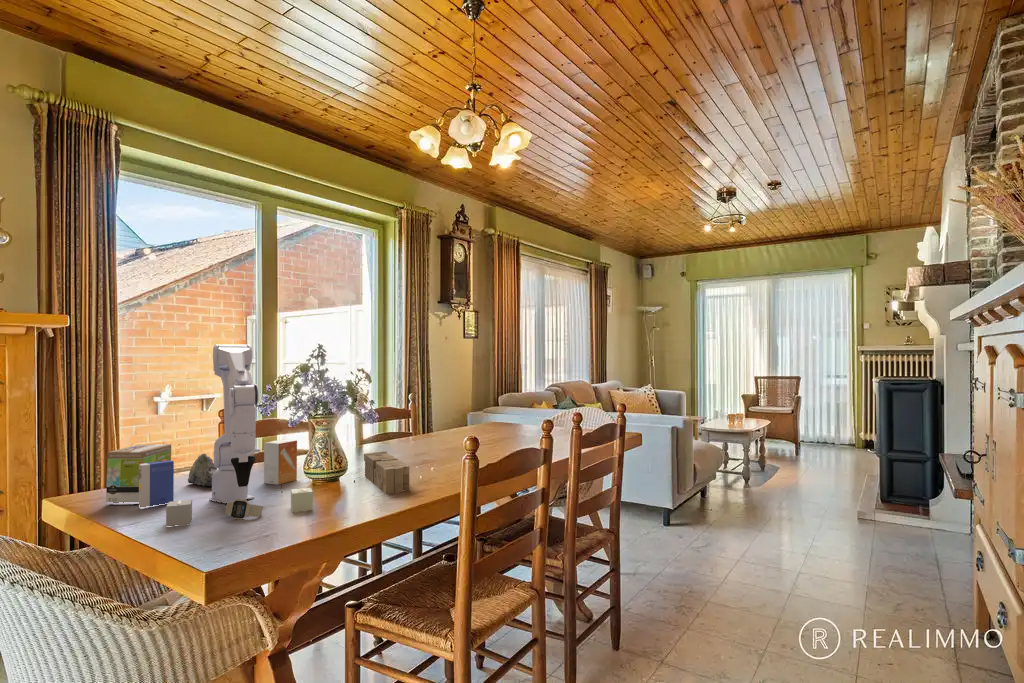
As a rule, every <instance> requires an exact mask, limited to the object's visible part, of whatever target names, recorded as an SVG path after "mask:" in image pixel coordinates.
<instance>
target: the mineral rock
mask: <svg viewBox="0 0 1024 683" xmlns="http://www.w3.org/2000/svg"><path fill="white" fill-rule="evenodd" d="M217 469H218V468H216V467H215V466H214V459H212V457H210V456H208V455H207V453H202V454H200V455H198V457H197V458H196V459H195V460H194V462H193V464H192V466H191V469H190V470H189V472H188V478H187V484H188V483H189V484H190V483H193V484H192V485H194V484H197V485H196V486H200V485H202V487H212V476H213V474H214V472H215V471H216V470H217ZM205 485H207V486H205ZM209 485H211V486H209Z"/></svg>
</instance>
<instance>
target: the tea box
mask: <svg viewBox="0 0 1024 683" xmlns="http://www.w3.org/2000/svg"><path fill="white" fill-rule="evenodd" d="M166 459H167V461H168V460H171V461H172V444H171V443H169V444H168V443H167V444H166V443H165V444H164V443H163V444H162V443H160V444H157V443H156V444H153V443H152V444H150V443H148V444H136V445H133V446H132V445H131V446H128V447H123V448H120V449H116V450H112V451H111V450H110V451H108V452H107V462H106V463H107V466H106V492H105V494H106V495H105V496H106V497H105V503H106V502H113V503H119V502H123V503H124V502H139V464H145V463H152V462H160V461H162V460H166Z"/></svg>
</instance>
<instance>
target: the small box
mask: <svg viewBox="0 0 1024 683" xmlns="http://www.w3.org/2000/svg"><path fill="white" fill-rule="evenodd" d="M263 445H264V446H263V448H264V449H263V451H264V452H263V453H264V454H263V457H264V458H263V484H267V485H278V486H279V485H282V484H285V483H286V484H287V483H289V482H294V480H295V481H297V479H298V470H297V469H298V464H297V463H298V440H297V439H284V438H283V439H278V440H277V439H276V440H272V441H271V440H270V441H267V442H264V443H263Z"/></svg>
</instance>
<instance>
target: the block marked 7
mask: <svg viewBox="0 0 1024 683" xmlns="http://www.w3.org/2000/svg"><path fill="white" fill-rule="evenodd" d="M313 494H314V492H313V490H312V487H304V488H292V489H290V510H291V509H292V510H291V513H292V512H295V513H300V512H299V511H304V512H308V511H307V510H313V508H314V504H313V502H314V501H313V500H314V495H313ZM313 511H314V510H313Z"/></svg>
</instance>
